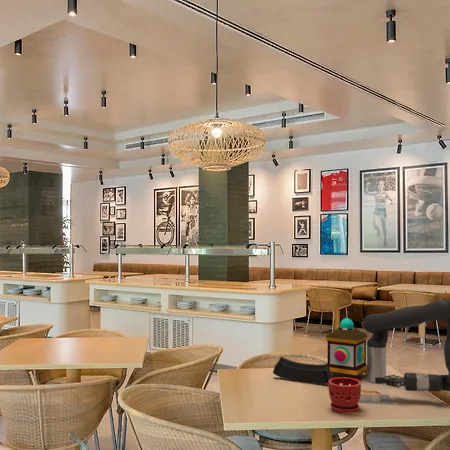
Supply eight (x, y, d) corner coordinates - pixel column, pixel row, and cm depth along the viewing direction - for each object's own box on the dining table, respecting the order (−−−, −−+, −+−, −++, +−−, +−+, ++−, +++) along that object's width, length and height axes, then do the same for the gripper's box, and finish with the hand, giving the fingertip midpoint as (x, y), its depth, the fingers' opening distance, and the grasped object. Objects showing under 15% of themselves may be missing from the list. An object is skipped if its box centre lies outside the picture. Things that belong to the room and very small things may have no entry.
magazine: (338, 367, 263) (283, 343, 277) (336, 368, 260) (280, 344, 274) (328, 400, 265) (274, 374, 279) (326, 401, 262) (271, 375, 276)
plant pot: (324, 405, 231) (325, 376, 232) (355, 405, 232) (355, 376, 232) (333, 415, 218) (333, 385, 219) (365, 414, 219) (365, 384, 219)
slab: (379, 397, 241) (337, 395, 244) (379, 390, 241) (337, 388, 244) (381, 401, 235) (338, 399, 238) (381, 394, 235) (338, 392, 238)
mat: (338, 393, 249) (338, 392, 249) (388, 396, 246) (388, 394, 246) (340, 403, 234) (340, 402, 234) (393, 406, 231) (393, 404, 231)
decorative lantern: (358, 383, 267) (358, 322, 268) (320, 377, 278) (321, 318, 279) (372, 375, 284) (372, 317, 285) (336, 370, 295) (336, 314, 296)
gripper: (413, 369, 243) (373, 368, 245) (419, 377, 230) (377, 375, 232) (413, 386, 243) (373, 384, 245) (419, 395, 229) (377, 392, 232)
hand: (375, 380), depth 239 cm, fingers closed
